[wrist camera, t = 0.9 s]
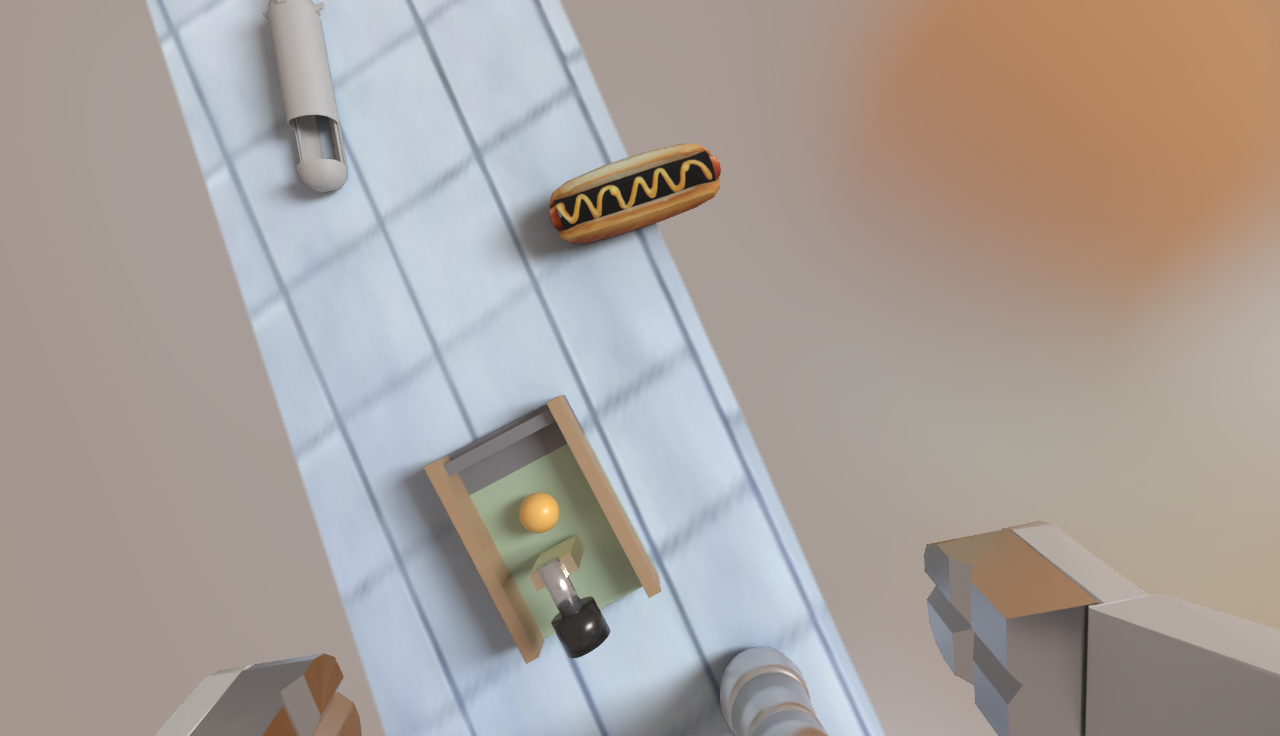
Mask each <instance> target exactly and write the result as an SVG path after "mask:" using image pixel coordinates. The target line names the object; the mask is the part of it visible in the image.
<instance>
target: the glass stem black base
mask: <svg viewBox="0 0 1280 736" xmlns="http://www.w3.org/2000/svg"><path fill="white" fill-rule="evenodd" d="M583 551H584V546H583V544H582V542H581V540H580V538H579V536H578V534H576V535H574V536H572V537H570V538H568V539H566V540H564V541H563V542H561V543H559V544H557V545H555V546H553V547H551V548H549V549H547V550H546V551H544V552H542V553H540V555H539V556H538V558H537V560H536V562H535V564H534V566H533V568H532V570H531V572H530V574H529V578H530V580H531V582H532V584H533V586H534V588H535V589H536V591H537V592H538V591H539V590H541V589H543V588H545V587H546V588H547V590H548V591H549V593H550V595H551V597H552V599H553V601H554V603H555V605H556V607H557V609H558V611H559V613H558V614H557V615H556V616H555V617H554V618H553V620H552V622H551V624H552V626H553V628H554V630H555V632H556V634H557V636H558V638H559V640H560V641H561V643H562V645H563V647H564V649H565V651H566V653H567V655H568V657H569V658H577V657H581V656H583V655H585V654H587V653H589V652H591V651H592V650H594V649H595V648H597V647H598V646H599V645H600V644H602V643H603V642H604V641H605V639H606V638H607V637H608V635H609V634H610V628H609V626H608V625H607V623H606V621H605V619H604V617H603V615H602V613H601V611H600V609H599V607H598V605H597V604H596V602H595V600H594V598H593V597H591V596H589V597H584V598H582V599H580V597H579V595H578V593H577V592H576V590H575V588H574V586H573V584H572V582H571V580H570V578H569V576H568V575H569V574H571V573H573V572H575V571H577V570H579V567H580V563H581V559H582V555H583Z"/></svg>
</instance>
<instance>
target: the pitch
mask: <svg viewBox="0 0 1280 736" xmlns="http://www.w3.org/2000/svg"><path fill="white" fill-rule="evenodd" d="M424 469H425V471H426V473H427V475H428V477H429V479H430V481H431V483H432V485H433V486H434V488H435V490H436V492H437V494H438V496H439V498H440V500H441V502H442V504H443V506H444V508H445V509H446V511H447V513H448V515H449V517H450V519H451V521H452V523H453V525H454V527H455V529H456V530H457V532H458V534H459V536H460V538H461V540H462V542H463V544H464V546H465V548H466V550H467V551H468V553H469V555H470V557H471V559H472V561H473V563H474V565H475V567H476V569H477V571H478V572H479V574H480V576H481V578H482V580H483V582H484V584H485V586H486V588H487V590H488V592H489V594H490V595H491V597H492V599H493V601H494V603H495V605H496V607H497V609H498V611H499V613H500V615H501V616H502V618H503V620H504V622H505V624H506V626H507V628H508V630H509V632H510V634H511V636H512V637H513V639H514V641H515V643H516V645H517V647H518V649H519V651H520V653H521V655H522V657H523V658H524V660H525V662H526V664H527V663H529V662H531V661H533V660H534V659H536V658H538V657H539V655H540V651H541V648H542V645H543V642H544V639H545V638H547V637H549V636H551V635H553V634H555V633H556V632H555V630H554V628H553V626H552V624H551V622H552V620H553V618H554V617H555V616H556V615H557V614H558V613H559V611H558V609H557V607H556V605H555V603H554V601H553V599H552V597H551V595H550V593H549V591H548V590H547V588H546V587H545V588H543V589H541V590H539V591H538V592H537V591H536V589H535V588H534V586H533V584H532V582H531V580H530V578H529V574H530V572H531V570H532V568H533V566H534V564H535V562H536V560H537V558H538V556H539V555H540V553H542V552H544V551H546V550H547V549H549V548H551V547H553V546H555V545H557V544H559V543H561V542H563V541H564V540H566V539H568V538H570V537H572V536H574V535H576V534H578V536H579V538H580V540H581V542H582V544H583V546H584V551H583V555H582V559H581V563H580V567H579V570H577V571H575V572H573V573H571V574H569V575H568V576H569V578H570V580H571V582H572V584H573V586H574V588H575V590H576V592H577V593H578V595H579V597H580V599H582V598H584V597H589V596H591V597H593V598H594V600H595V602H596V604H597V605H598V607H599V609H601V608H603V607H605V606H607V605H609V604H611V603H613V602H614V601H616V600H618V599H620V598H622V597H624V596H626V595H627V594H629V593H631V592H633V591H635V590H637V589H639V588H640V587H642V586H643V588H644V590H645V592H646V593H647V595H648V597H649V598H650V597H652V596H654V595H655V594H657V593H659V592H661V588H660V581H659V575H658V572H657V570H656V568H655V566H654V564H653V562H652V560H651V558H650V557H649V555H648V553H647V551H646V549H645V547H644V545H643V543H642V541H641V539H640V538H639V536H638V534H637V532H636V530H635V528H634V526H633V524H632V522H631V520H630V518H629V517H628V515H627V513H626V511H625V509H624V507H623V505H622V503H621V501H620V499H619V498H618V496H617V494H616V492H615V490H614V488H613V486H612V484H611V482H610V480H609V479H608V477H607V475H606V473H605V471H604V469H603V467H602V465H601V463H600V461H599V459H598V458H597V456H596V454H595V452H594V450H593V448H592V446H591V444H590V442H589V440H588V439H587V437H586V435H585V433H584V431H583V429H582V427H581V425H580V423H579V421H578V420H577V418H576V416H575V414H574V412H573V410H572V408H571V406H570V404H569V402H568V400H567V399H566V397H565V395H562V396H558V397H556V398H555V399H553V400H551V401H549V402H547V404H545V405H544V406H542V407H540V408H538V409H536V410H534V411H532V412H530V413H528V414H526V415H525V416H523V417H521V418H519V419H517V420H515V421H513V422H511V423H509V424H507V425H506V426H504V427H502V428H500V429H498V430H496V431H494V432H492V433H490V434H488V435H487V436H485V437H483V438H481V439H479V440H477V441H475V442H473V443H471V444H469V445H467V446H466V447H464V448H462V449H460V450H458V451H456V452H454V453H452V454H450V455H448V456H446V457H444V458H441V459H439V460H437V461H435V462H433V463H431V464H429V465H427V466H425V467H424ZM537 492H543V493H547V494H549V495H551V496H552V497H553V498H554V499H555V500H556V502H557V504H558V506H559V518H558V521H557V523H556V524H555V526H554V527H553V528H552V529H550V530H549V531H547V532H544V533H533V532H530V531H528V530H527V529H525V528H524V526H523V525H522V524H521V522H520V519H519V508H520V505H521V503H522V502H523V500H524V499H525V498H526V497H527V496H529V495H531V494H533V493H537Z"/></svg>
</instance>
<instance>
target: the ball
mask: <svg viewBox="0 0 1280 736" xmlns="http://www.w3.org/2000/svg"><path fill="white" fill-rule="evenodd" d="M558 518H559V506H558V504H557V502H556V500H555V499H554V498H553V497H552V496H551V495H549V494H547V493H543V492H537V493H533V494H531V495H529V496H527V497H526V498H525V499H524V500H523V502H522V503H521V505H520V508H519V519H520V522H521V524H522V525H523V526H524V528H525V529H527V530H528V531H530V532H533V533H544V532H547V531H549V530H550V529H552V528H553V527H554V526H555V524H556V523H557V521H558Z"/></svg>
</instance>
